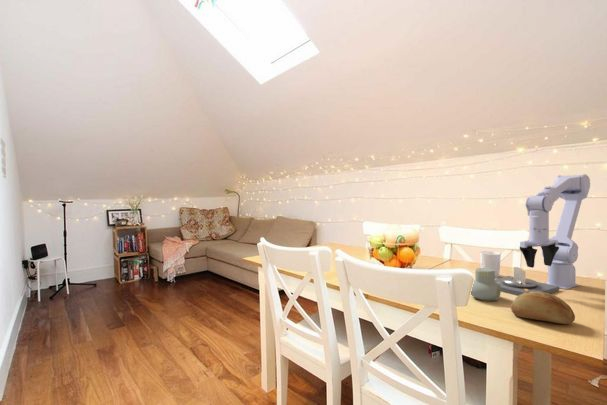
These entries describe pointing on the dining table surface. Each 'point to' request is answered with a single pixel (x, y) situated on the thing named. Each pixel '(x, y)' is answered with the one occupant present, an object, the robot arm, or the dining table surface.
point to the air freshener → (485, 285)
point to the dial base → (518, 291)
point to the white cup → (490, 261)
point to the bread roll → (542, 308)
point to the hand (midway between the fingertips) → (539, 266)
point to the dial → (519, 280)
